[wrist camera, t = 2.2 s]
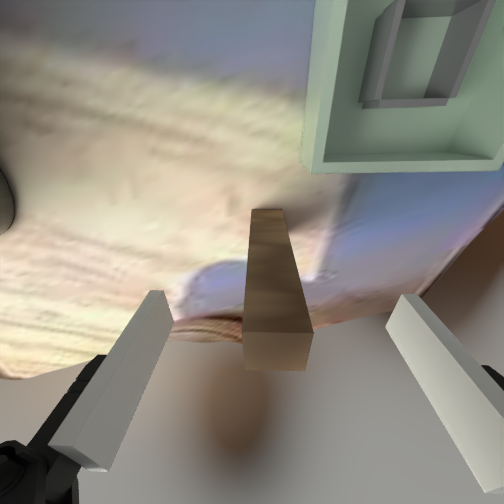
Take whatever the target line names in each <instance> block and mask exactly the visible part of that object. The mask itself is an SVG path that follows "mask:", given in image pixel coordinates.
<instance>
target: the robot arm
mask: <svg viewBox="0 0 504 504" xmlns="http://www.w3.org/2000/svg"><path fill="white" fill-rule="evenodd" d="M13 215H14V205H13V199H12V195H11V192H10V189H9V187H8V184H7V182H6V180H5V178H4V176H3V174H2V173H1V171H0V234H2V233H3V232H5V231H6V230H7V229H8V228H9V226H10V225H11V223H12V220H13ZM173 324H174V320H173V317H172V314H171V311H170V309H169V306H168V303H167V300H166V297H165V294H164V291H159V290H150V292H149V293H148V295H147V296H146V298H145V299H144V301H143V302H142V304H141V305H140V307H139V308H138V310H137V311H136V313H135V314H134V316H133V317H132V319H131V320H130V322H129V323H128V325H127V326H126V328H125V329H124V331H123V332H122V334H121V335H120V337H119V338H118V340H117V341H116V343H115V344H114V346H113V347H112V349H111V350H110V352H109V353H108V355H97V356H96V357H95V358H94V359H93V360H91V361H90V362H89V363H88V364H87V365H86V366H85V367H84V369H83V370H82V371H81V373H80V374H79V375H78V377H77V378H76V381H75V382H73V384H72V385H71V386H70V388H69V389H68V392H67V393H66V394H65V395H64V396H63V397H62V399H61V400H60V402H59V403H58V404H57V406H56V407H55V409H54V410H53V411H52V413H51V414H50V415H49V417H48V418H47V420H46V421H45V422H44V424H43V425H42V426H41V428H40V429H39V431H38V432H37V433H36V435H35V436H34V437H33V439H32V440H31V441H30V442H29V444H28V445H27V446H24V445H23V444H21V443H19V442H18V441H16V440H12V441H5V442H3V443H1V444H0V504H79V489H78V479H77V474H78V472H79V470H80V468H81V466H82V467H84V468H85V469H87V470H89V471H105V472H109V470H110V468H111V466H112V463H113V461H114V459H115V457H116V454H117V452H118V450H119V447H120V445H121V442H122V440H123V438H124V436H125V434H126V431H127V429H128V427H129V424H130V422H131V420H132V418H133V415H134V413H135V411H136V409H137V406H138V404H139V402H140V400H141V397H142V395H143V393H144V390H145V388H146V386H147V383H148V381H149V379H150V377H151V375H152V372H153V370H154V368H155V365H156V363H157V361H158V359H159V356H160V354H161V352H162V349H163V347H164V345H165V343H166V340H167V338H168V336H169V334H170V331H171V329H172V327H173ZM385 328H386V329H387V331H388V333H389V334H390V336H391V338H392V339H393V341H394V342H395V344H396V346H397V347H398V349H399V351H400V353H401V354H402V356H403V358H404V359H405V361H406V363H407V364H408V366H409V368H410V369H411V371H412V373H413V374H414V376H415V378H416V379H417V381H418V383H419V384H420V386H421V387H422V389H423V391H424V393H425V394H426V396H427V398H428V399H429V401H430V403H431V404H432V406H433V408H434V409H435V411H436V413H437V414H438V416H439V418H440V419H441V421H442V423H443V424H444V426H445V428H446V429H447V431H448V432H449V434H450V436H451V437H452V439H453V441H454V443H455V444H456V446H457V448H458V449H459V451H460V453H461V454H462V456H463V457H464V459H465V461H466V462H467V464H468V466H469V468H470V469H471V471H472V473H473V474H474V476H475V478H476V479H477V481H478V483H479V484H480V486H481V488H482V489H483V491H484V493H492V494H504V377H503V376H502V375H500V374H499V373H498V372H496V371H495V370H494V369H492V368H491V367H490V366H487V365H480V364H479V363H478V362H477V361H476V360H475V359H474V357H472V355H471V354H470V353H469V352H468V351H467V350H466V349H465V348H464V346H463V345H462V344H461V343H460V342H459V341H458V340H457V339H456V337H455V336H454V335H453V334H452V333H451V332H450V331H449V330H448V328H447V327H446V326H445V325H444V324H443V323H442V322H441V321H440V320H439V319H438V318H437V316H436V315H435V314H434V313H433V312H432V311H431V310H430V309H429V307H428V306H427V305H426V304H425V303H424V302H423V301H422V300H421V298H420V297H419V296H418V295H417V294H402V295H401V297H400V299H399V301H398V303H397V305H396V307H395V309H394V311H393V313H392V315H391V317H390V319H389V321H388V323H387V325H386V327H385Z"/></svg>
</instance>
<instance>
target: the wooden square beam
mask: <svg viewBox="0 0 504 504" xmlns="http://www.w3.org/2000/svg"><path fill="white" fill-rule="evenodd" d="M313 334H314V332H313V328H312V324H311V320H310V317H309V313H308V309H307V305H306V301H305V297H304V293H303V289H302V285H301V282H300V278H299V274H298V270H297V266H296V262H295V258H294V254H293V250H292V246H291V243H290V239H289V235H288V231H287V227H286V223H285V219H284V215H283V211H282V209H268V210H252V212H251V224H250V237H249V249H248V262H247V274H246V286H245V299H244V311H243V324H242V341H243V353H244V366H245V370H279V371H283V370H284V371H305V369H306V365H307V360H308V356H309V351H310V347H311V343H312V339H313Z"/></svg>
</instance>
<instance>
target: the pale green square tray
mask: <svg viewBox="0 0 504 504" xmlns="http://www.w3.org/2000/svg"><path fill="white" fill-rule="evenodd" d="M503 162H504V0H316V2H315V12H314V22H313V33H312V43H311V53H310V63H309V73H308V84H307V94H306V104H305V114H304V125H303V135H302V145H301V155H300V163H301V164H302V165H303V166H304V167H305V168H306V169H307V170H308V171H309V172H310V173H311V174H329V173H393V172H457V171H498V170H499V169H500V167H501V165H502V164H503Z"/></svg>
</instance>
